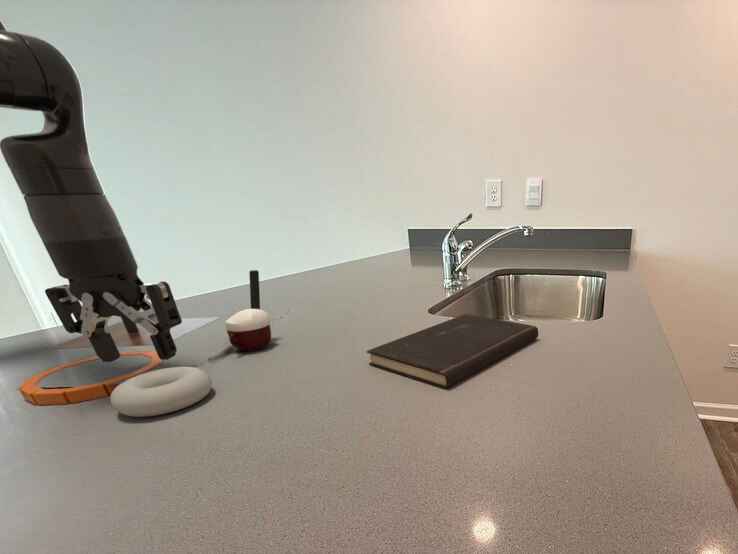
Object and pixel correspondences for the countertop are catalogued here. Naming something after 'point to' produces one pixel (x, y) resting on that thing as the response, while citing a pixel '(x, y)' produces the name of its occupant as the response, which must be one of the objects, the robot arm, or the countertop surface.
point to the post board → (136, 333)
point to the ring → (82, 392)
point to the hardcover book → (452, 348)
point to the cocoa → (250, 322)
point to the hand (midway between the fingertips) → (140, 358)
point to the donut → (161, 391)
